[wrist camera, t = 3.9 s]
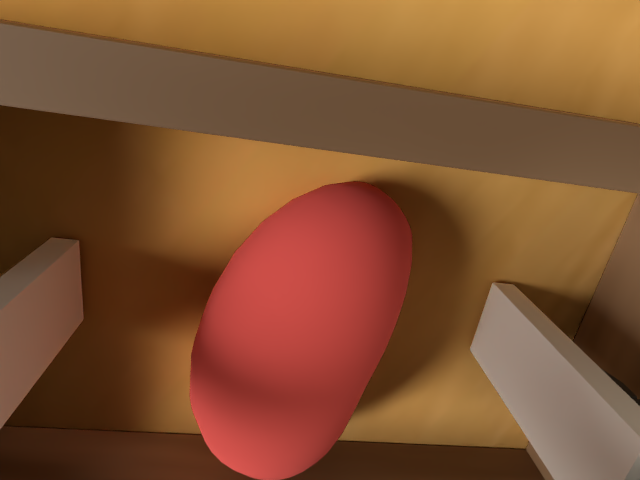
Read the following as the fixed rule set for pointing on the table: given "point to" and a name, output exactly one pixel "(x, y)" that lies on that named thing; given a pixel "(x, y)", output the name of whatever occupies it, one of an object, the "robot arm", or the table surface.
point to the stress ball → (299, 328)
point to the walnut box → (334, 135)
